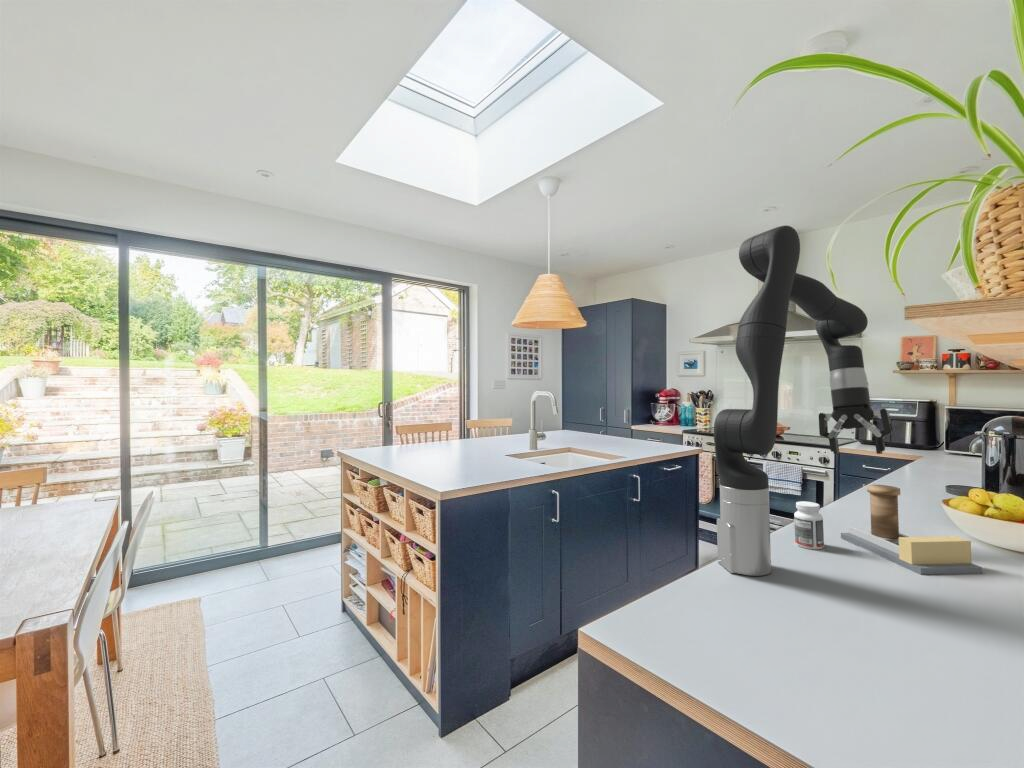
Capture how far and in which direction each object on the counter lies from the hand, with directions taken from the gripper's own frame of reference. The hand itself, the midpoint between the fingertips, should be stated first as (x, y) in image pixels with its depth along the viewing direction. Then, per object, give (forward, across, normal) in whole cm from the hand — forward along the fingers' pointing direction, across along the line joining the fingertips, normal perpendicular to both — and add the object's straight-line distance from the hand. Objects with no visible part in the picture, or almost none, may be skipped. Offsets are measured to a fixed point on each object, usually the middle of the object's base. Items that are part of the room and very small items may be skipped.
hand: (857, 453), depth 109 cm
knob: (+20, +3, +2) cm, 20 cm away
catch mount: (+22, +6, -2) cm, 23 cm away
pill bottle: (+22, -9, -10) cm, 26 cm away
